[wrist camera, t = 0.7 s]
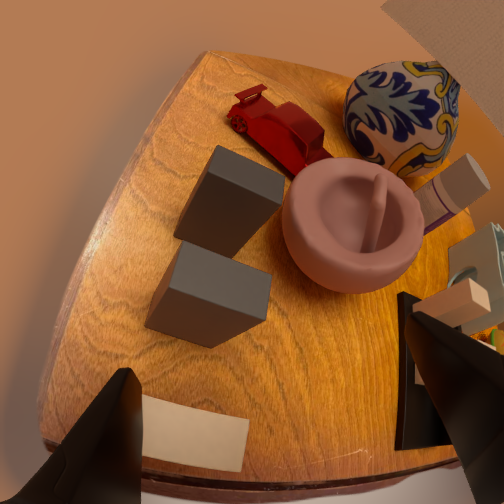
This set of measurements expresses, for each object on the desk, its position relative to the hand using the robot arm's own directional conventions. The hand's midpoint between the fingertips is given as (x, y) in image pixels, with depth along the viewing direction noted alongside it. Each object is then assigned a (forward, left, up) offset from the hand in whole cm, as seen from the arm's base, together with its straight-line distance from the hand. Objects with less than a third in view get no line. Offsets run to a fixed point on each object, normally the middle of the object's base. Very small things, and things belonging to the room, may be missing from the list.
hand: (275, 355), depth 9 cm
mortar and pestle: (+15, -10, -13) cm, 22 cm away
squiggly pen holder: (+21, -40, -13) cm, 48 cm away
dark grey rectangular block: (+12, +1, -13) cm, 18 cm away
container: (+21, -20, -13) cm, 32 cm away
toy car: (+26, -5, -13) cm, 30 cm away
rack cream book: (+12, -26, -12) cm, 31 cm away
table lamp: (+41, -21, -13) cm, 48 cm away
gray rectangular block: (+4, +1, -13) cm, 14 cm away
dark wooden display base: (+5, -26, -13) cm, 29 cm away
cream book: (-3, +1, -13) cm, 13 cm away
